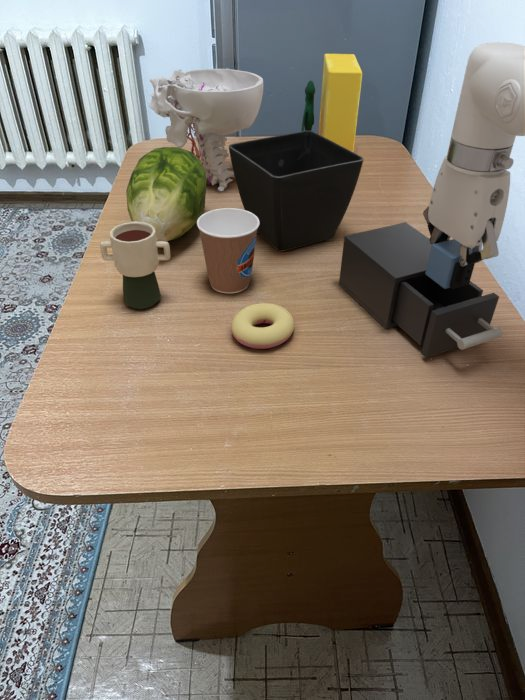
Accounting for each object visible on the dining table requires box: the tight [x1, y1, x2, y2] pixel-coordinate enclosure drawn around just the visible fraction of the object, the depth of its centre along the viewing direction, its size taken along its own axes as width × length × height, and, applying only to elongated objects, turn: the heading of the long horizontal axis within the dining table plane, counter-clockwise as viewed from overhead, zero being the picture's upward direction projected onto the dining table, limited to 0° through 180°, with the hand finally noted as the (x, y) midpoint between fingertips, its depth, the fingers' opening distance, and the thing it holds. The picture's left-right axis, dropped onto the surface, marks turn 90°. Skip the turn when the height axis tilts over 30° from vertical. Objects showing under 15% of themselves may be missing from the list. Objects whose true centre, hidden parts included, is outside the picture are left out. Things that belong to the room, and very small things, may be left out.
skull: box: [149, 68, 264, 192], centre depth 127 cm, size 25×19×23 cm
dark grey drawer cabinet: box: [338, 222, 432, 330], centre depth 95 cm, size 15×13×10 cm
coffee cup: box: [196, 207, 260, 295], centre depth 96 cm, size 10×10×12 cm
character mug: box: [99, 221, 171, 309], centre depth 92 cm, size 11×7×13 cm, turn 92°
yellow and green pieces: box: [300, 53, 363, 152], centre depth 136 cm, size 18×12×24 cm
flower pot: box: [228, 130, 365, 252], centre depth 110 cm, size 19×19×17 cm
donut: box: [231, 302, 295, 350], centre depth 88 cm, size 10×5×9 cm
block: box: [425, 238, 472, 289], centre depth 82 cm, size 4×4×5 cm
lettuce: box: [125, 146, 208, 242], centre depth 110 cm, size 15×27×16 cm, turn 177°
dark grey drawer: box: [392, 275, 503, 359], centre depth 86 cm, size 18×11×8 cm, turn 25°
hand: (447, 276), depth 83 cm, fingers closed on block, 4 cm apart
